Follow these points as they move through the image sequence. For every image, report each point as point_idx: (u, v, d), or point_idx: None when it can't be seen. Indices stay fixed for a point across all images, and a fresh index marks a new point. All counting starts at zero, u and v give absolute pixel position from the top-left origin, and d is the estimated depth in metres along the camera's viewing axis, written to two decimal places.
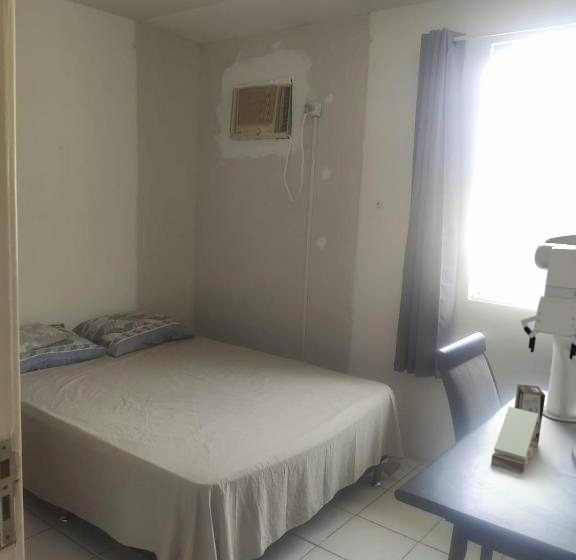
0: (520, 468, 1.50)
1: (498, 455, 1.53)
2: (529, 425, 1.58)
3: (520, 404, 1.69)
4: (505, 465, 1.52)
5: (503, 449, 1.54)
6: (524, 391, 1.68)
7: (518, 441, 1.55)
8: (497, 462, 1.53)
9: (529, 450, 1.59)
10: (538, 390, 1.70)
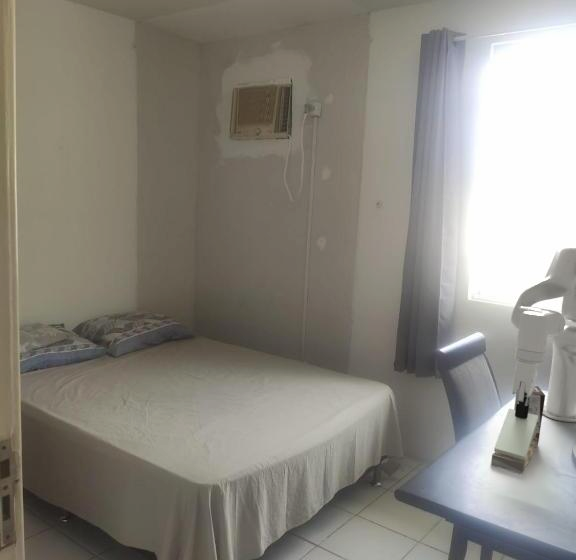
0: (520, 468, 1.50)
1: (498, 455, 1.53)
2: (529, 426, 1.59)
3: None
4: (505, 465, 1.52)
5: (503, 449, 1.54)
6: None
7: (518, 441, 1.55)
8: (497, 462, 1.53)
9: (529, 450, 1.59)
10: (538, 390, 1.70)
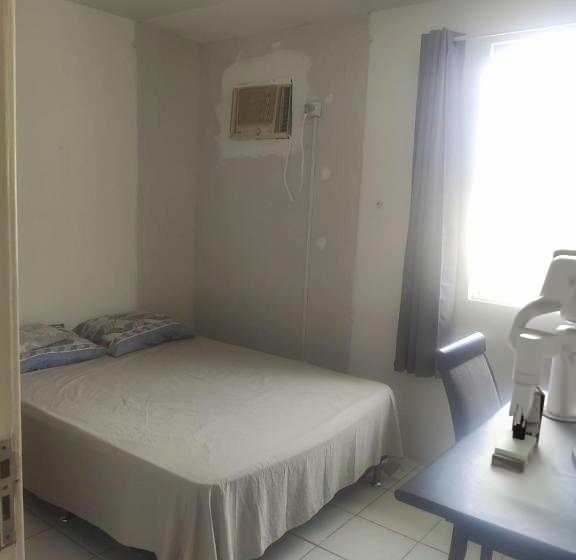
0: (520, 468, 1.50)
1: (498, 455, 1.53)
2: (528, 441, 1.61)
3: None
4: (505, 465, 1.52)
5: (504, 449, 1.55)
6: None
7: (518, 447, 1.56)
8: (497, 462, 1.53)
9: None
10: (538, 390, 1.70)
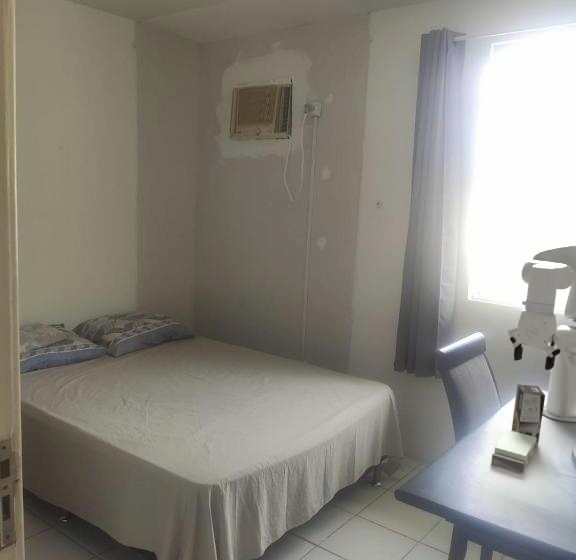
0: (520, 468, 1.50)
1: (498, 455, 1.53)
2: (528, 441, 1.61)
3: (520, 404, 1.69)
4: (505, 465, 1.52)
5: (504, 449, 1.55)
6: (524, 391, 1.68)
7: (518, 447, 1.56)
8: (497, 462, 1.53)
9: None
10: (538, 390, 1.70)
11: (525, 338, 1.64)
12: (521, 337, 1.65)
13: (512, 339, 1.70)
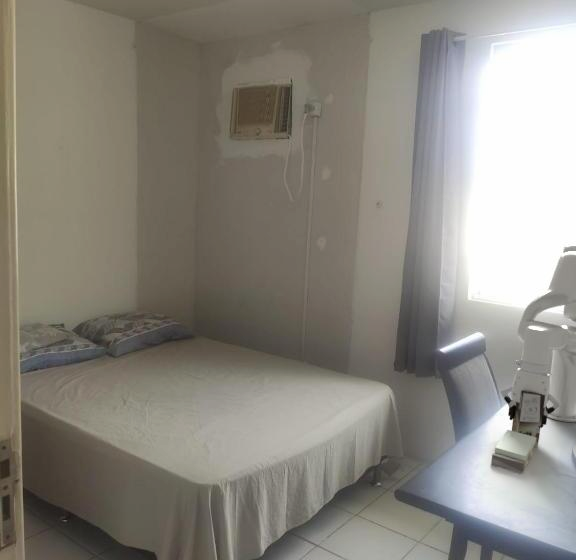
0: (520, 468, 1.50)
1: (498, 455, 1.53)
2: (528, 441, 1.61)
3: (520, 404, 1.69)
4: (505, 465, 1.52)
5: (504, 449, 1.55)
6: (524, 391, 1.68)
7: (518, 447, 1.56)
8: (497, 462, 1.53)
9: None
10: None
11: None
12: (518, 396, 1.70)
13: (506, 399, 1.74)
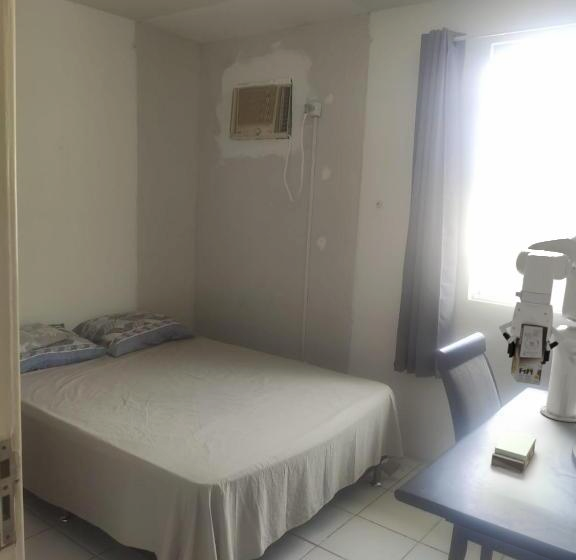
0: (520, 468, 1.50)
1: (498, 455, 1.53)
2: (528, 441, 1.61)
3: (520, 338, 1.54)
4: (505, 465, 1.52)
5: (504, 449, 1.55)
6: (525, 324, 1.53)
7: (518, 447, 1.56)
8: (497, 462, 1.53)
9: None
10: None
11: None
12: (517, 330, 1.55)
13: (505, 335, 1.59)
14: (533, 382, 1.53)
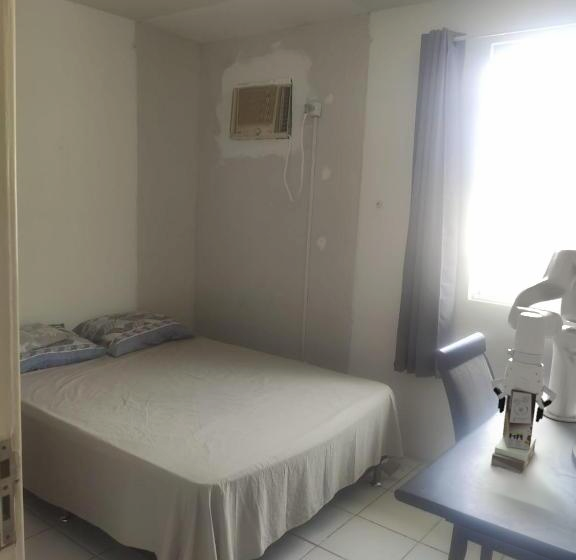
0: (520, 468, 1.50)
1: (498, 455, 1.53)
2: None
3: (510, 404, 1.56)
4: (505, 465, 1.52)
5: (504, 449, 1.55)
6: (514, 390, 1.56)
7: None
8: (497, 462, 1.53)
9: None
10: None
11: None
12: (509, 389, 1.57)
13: (496, 390, 1.60)
14: (523, 447, 1.55)
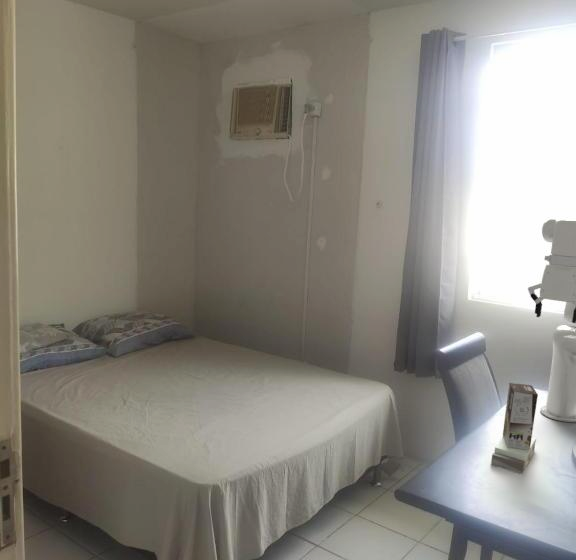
0: (520, 468, 1.50)
1: (498, 455, 1.53)
2: None
3: (511, 404, 1.56)
4: (505, 465, 1.52)
5: (504, 449, 1.55)
6: (515, 390, 1.55)
7: None
8: (497, 462, 1.53)
9: None
10: (531, 389, 1.57)
11: (551, 293, 1.63)
12: (547, 292, 1.64)
13: (533, 296, 1.68)
14: (523, 447, 1.55)
